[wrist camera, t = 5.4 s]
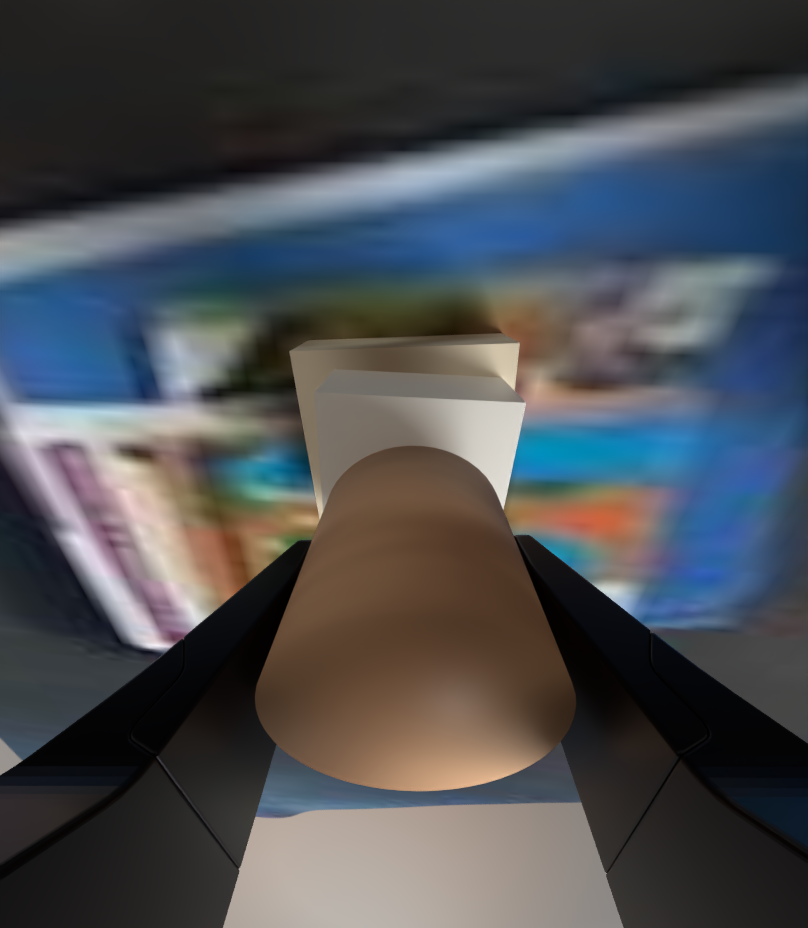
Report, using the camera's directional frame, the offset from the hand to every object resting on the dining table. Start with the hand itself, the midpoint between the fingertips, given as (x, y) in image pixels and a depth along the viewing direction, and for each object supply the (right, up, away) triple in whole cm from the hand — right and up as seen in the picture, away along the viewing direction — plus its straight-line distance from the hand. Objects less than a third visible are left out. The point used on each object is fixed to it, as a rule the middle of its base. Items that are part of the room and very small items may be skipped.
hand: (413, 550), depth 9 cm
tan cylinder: (0, 0, +1) cm, 1 cm away
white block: (0, +3, +5) cm, 6 cm away
